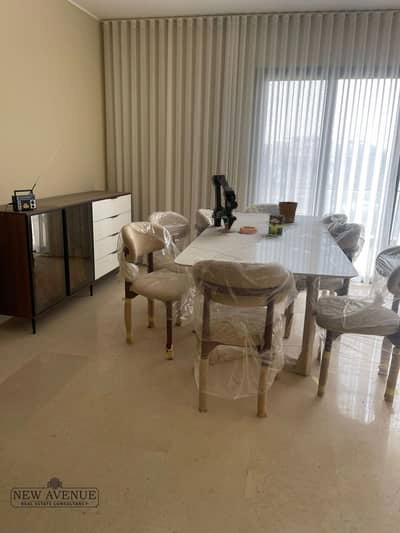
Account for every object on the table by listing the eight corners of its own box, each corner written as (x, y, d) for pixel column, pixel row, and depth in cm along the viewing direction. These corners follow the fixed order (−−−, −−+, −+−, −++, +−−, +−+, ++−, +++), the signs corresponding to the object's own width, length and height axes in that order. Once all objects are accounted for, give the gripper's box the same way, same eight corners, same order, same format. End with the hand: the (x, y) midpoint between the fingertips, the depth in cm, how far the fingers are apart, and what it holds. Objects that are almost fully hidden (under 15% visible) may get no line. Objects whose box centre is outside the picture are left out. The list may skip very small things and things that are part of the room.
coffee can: (280, 236, 274) (281, 216, 270) (266, 234, 278) (267, 215, 274) (284, 233, 282) (285, 214, 278) (270, 232, 287) (272, 213, 283)
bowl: (237, 231, 289) (238, 226, 288) (252, 230, 293) (252, 225, 292) (244, 234, 278) (244, 229, 277) (259, 233, 282) (260, 228, 281)
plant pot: (275, 222, 325) (277, 203, 321) (277, 219, 340) (279, 201, 336) (295, 224, 321) (297, 204, 316) (296, 220, 336) (298, 202, 331)
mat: (215, 229, 291) (215, 229, 291) (232, 229, 296) (232, 228, 296) (222, 233, 279) (222, 233, 279) (239, 232, 283) (239, 232, 283)
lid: (215, 229, 291) (216, 221, 289) (231, 228, 295) (232, 221, 293) (222, 233, 279) (222, 225, 277) (239, 232, 283) (239, 224, 282)
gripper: (213, 205, 288) (212, 226, 292) (222, 209, 271) (222, 231, 276) (227, 205, 291) (226, 225, 296) (237, 208, 275) (236, 230, 279)
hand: (227, 228), depth 287 cm, fingers open, 7 cm apart
